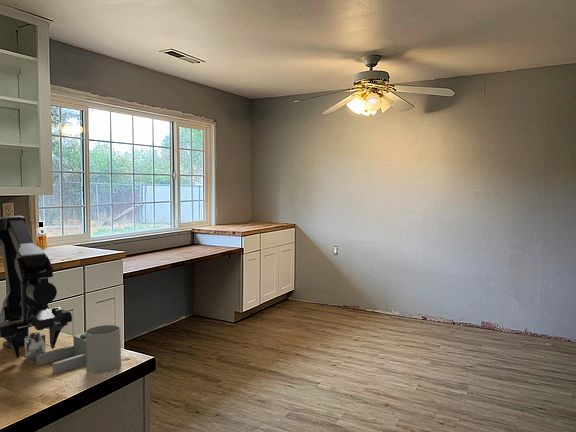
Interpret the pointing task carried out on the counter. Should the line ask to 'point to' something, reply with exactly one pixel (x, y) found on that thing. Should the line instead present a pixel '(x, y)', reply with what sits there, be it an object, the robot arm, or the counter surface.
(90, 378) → the counter surface
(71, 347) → the grey u-shaped bracket
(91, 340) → the cup
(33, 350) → the bottle
